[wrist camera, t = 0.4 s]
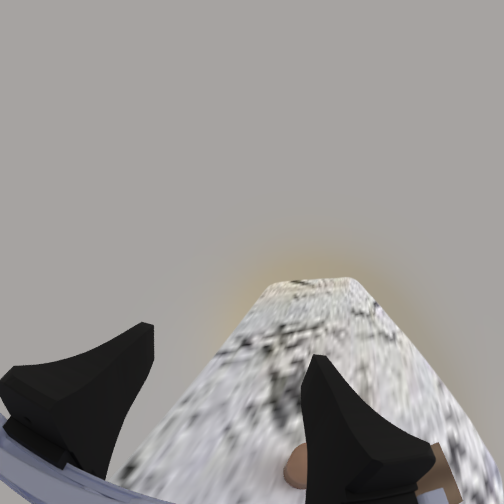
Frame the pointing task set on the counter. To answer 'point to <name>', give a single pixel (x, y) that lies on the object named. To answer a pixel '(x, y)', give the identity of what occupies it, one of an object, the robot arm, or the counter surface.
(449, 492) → the base
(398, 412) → the counter surface
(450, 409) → the counter surface
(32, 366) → the robot arm
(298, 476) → the tan round knob
